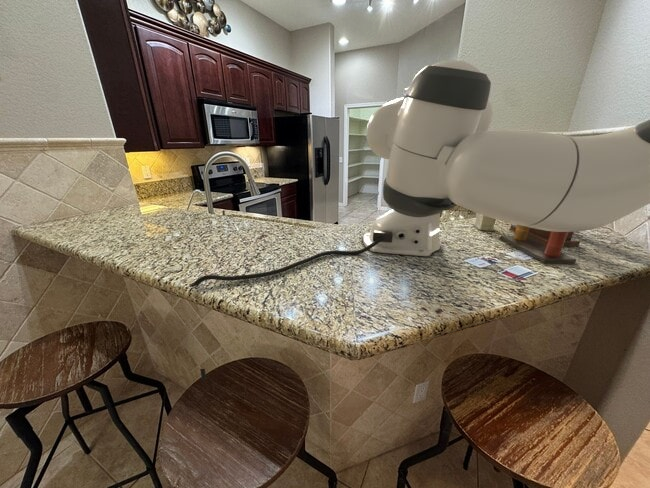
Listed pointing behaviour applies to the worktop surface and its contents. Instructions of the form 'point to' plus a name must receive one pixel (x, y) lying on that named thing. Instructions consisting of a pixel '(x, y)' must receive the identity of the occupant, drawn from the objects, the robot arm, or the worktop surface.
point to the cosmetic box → (484, 222)
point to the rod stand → (540, 246)
